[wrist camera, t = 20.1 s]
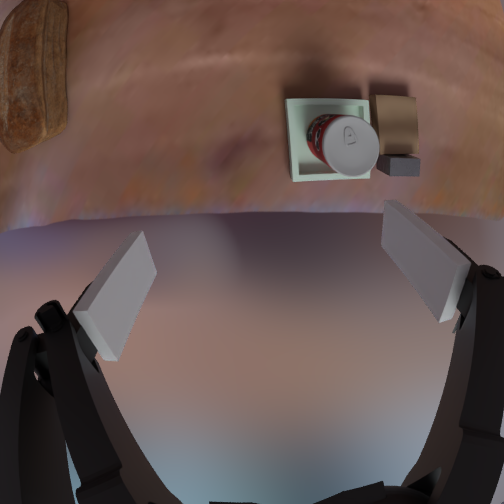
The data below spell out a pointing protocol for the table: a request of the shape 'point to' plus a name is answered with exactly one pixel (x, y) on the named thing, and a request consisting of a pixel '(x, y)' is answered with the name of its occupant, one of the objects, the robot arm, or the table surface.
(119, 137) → the table surface
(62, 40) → the bread
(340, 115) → the canned food
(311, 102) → the tray
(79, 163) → the table surface
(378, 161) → the bench dog
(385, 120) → the tan block
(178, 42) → the table surface
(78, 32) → the table surface
